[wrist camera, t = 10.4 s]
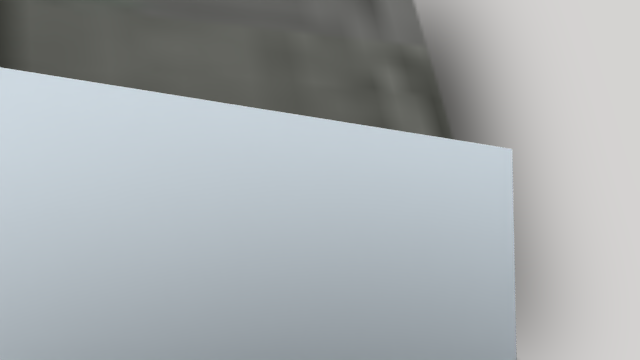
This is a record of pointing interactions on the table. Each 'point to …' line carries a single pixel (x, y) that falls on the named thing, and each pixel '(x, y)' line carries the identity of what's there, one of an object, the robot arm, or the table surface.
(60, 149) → the tall block
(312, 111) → the table surface
